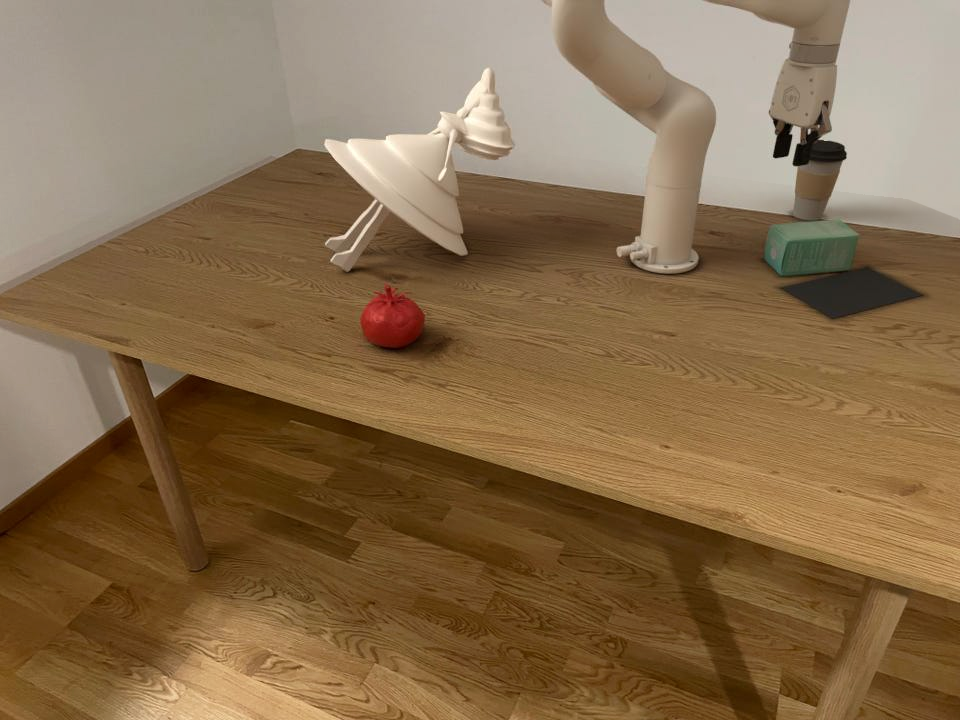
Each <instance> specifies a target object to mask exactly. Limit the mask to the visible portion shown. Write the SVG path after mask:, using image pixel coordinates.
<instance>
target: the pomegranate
mask: <svg viewBox="0 0 960 720" xmlns="http://www.w3.org/2000/svg"><path fill="white" fill-rule="evenodd" d="M398 290H399V288H398V287H393V288H392V287H391V286H390V285H389V284H385V285H384V291H385V292H386V293H383V292H382V291H374V290H373V291H372V293H373V294H375V296H374V297H373V298H372V299H371V300H370V301H369V302H368V303H367V304H366V306H365V307H364V309H363V310H362V313H361V315H360V327H361V331H362V334H363V336H364V337H365V339H367V340H368V341H369V342H370V343H372V344H374V345H376V346H378V347H382V348H383V347H384V348H392V349H399V348H403V347H406V346H407V345H410V344H412V343H414V342H415V341H416V340H417V339H418V338H419V337H420V336H421V334H422V332H423V329H424V326H425V322H426V320H425V319H426V313H425V312H424V310H422V309H421V308H420V306H419V305H418V304H417V303H416V301H414V300H412V299H410V298H409V297H406V296H405V295H407V294H412V292H410V291H406V292H402V293H397V294H396V293H395V292H396V291H398Z"/></svg>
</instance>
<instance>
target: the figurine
mask: <svg viewBox="0 0 960 720" xmlns="http://www.w3.org/2000/svg"><path fill="white" fill-rule="evenodd" d="M439 114H440V116H441V118H440V120H439V121H438V123H437V127H436V128H435V129H434V130H432V131H431V132H429V133H427V134H426V133H425V134H424V133H423V134H420V133H419V134H418V133H417V134H415V133H400V134H399V133H398V134H397V133H396V134H388V135H386V136H385V139H372V138H349V139H348V140H347V142H345V141H340V140H336V139H332V138H331V139H329V138H326V139H325V141H324V147H325V149H326V150H327V151H328V152H329V154H330V155H331V156H332V158H333V159H334V160H335V161H336V162H337V164H339V165H340V166H341V168H342V169H344V171H345V172H346V173H347V174H348V175H349V176H350V177H351V178H352V179H353V180H355V182H356V183H357V184H358V185H359V186H360V187H361V188H362V189H363V190H364V191H365V192H366V193H367V194H369V195H370V196H371V197H372V198H374V200H373V201H372V202H371V204H370V205H369V206H368V208H367V209H366V210H364V211H363V212H362V213H361V214H360V216H359V217H358V218H357V219H356V221H354V223H353V224H352V225H351V227H350V228H349V229H348V230H347V232H346V233H345V234H343V235H338V236H334V237H329V238H328V239H327V240H326V242H325V243H324V246H325V247H326V248H327V249H329V250H331V251H334V255H333V256H332V258H331V259H330V262H331V263H332V264H334V265H336V266H339V267H340V269H341V270H343V271H345V272H346V273H348V272H350V271H351V269H352V268H353V267H354V265H355V263H356V262H357V260H359V258H360V256H361V255H362V253H363V252H364V251H365V250H366V248H367V247H368V245H369V244H370V243H371V241H372V240H373V239H374V237H375V236H376V234H377V233H378V231H379V229H380V227H381V225H382V224H383V223H384V221H385V220H386V219H387V218H388V216H389V215H390V214H391V213H392V214H393V215H395V217H397V218H398V219H400V220H401V221H402V222H403V223H405V224H406V225H407V226H409V227H410V228H412V229H414V230H415V231H416V232H418V233H420V234H421V235H422V236H424V237H425V238H428V240H430V241H432V242H434V243H436V244H437V245H439V246H440V247H442V248H444V249H445V250H448V251H450V252H451V253H454V254H456V255H458V256H460V257H463V256H467V255H468V254H469V253H468V250H467V247H466V244H465V242H464V241H463V238H462V236H461V235H463V234H464V228H463V222H462V218H461V215H460V211H459V208H458V207H459V206H458V202H457V198H456V197H458V198H459V196H460V189H459V184H458V179H457V174H456V169H455V163H454V160H453V159H454V158H453V155H452V154H453V153H452V152H453V149H454V146H455V144H458V145H459V146H458V148H459V149H460V150H462V151H463V152H465V153H468V154H469V155H472V156H475V157H477V158H480V159H485V160H489V161H490V160H491V161H497V160H499V159H500V158H503V157H508V156H509V155H510V153H511V150H513V149H514V147H515V146H516V143H515V141H514V140H513V139H512V134H511V133H512V132H511V128H510V127H509V124H508V123H507V121H505V113H504V109H502V108H501V107H500V96H499V94H498V93H497V92H496V74H495V71H494V69H493V68H491V67H487V68H485V69H484V70H483V72H482V75H481V78H480V80H479V81H478V82H477V83H475V85H474V86H473V88H472V89H471V90H470V92H469V93H468V94H467V97H466V99H465V101H464V105H463V106H462V107H461V108H459V109H458V110H457V111H456V113H452V112H448V111H439ZM350 246H351V247H350ZM349 248H350V249H349Z"/></svg>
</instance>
